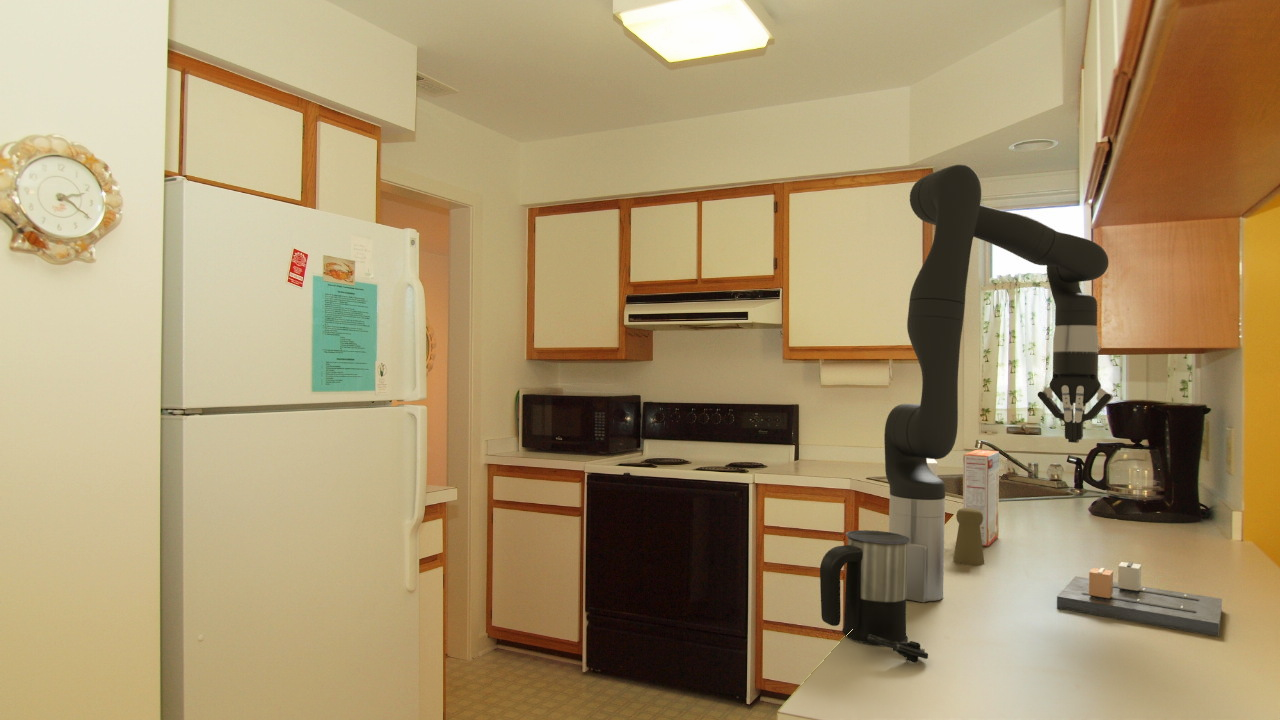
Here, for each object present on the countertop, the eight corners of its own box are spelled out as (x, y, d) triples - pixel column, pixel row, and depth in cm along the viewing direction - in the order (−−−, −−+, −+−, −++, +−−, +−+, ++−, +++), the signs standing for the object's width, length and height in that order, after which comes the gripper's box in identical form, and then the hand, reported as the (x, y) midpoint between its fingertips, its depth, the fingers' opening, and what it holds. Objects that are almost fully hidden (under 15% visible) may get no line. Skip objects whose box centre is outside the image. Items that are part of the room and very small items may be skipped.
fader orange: (1109, 598, 134) (1109, 573, 134) (1088, 594, 135) (1089, 570, 135) (1112, 593, 137) (1113, 569, 137) (1092, 590, 139) (1093, 566, 139)
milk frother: (866, 623, 125) (868, 526, 125) (964, 652, 113) (966, 545, 113) (808, 641, 116) (810, 537, 116) (907, 674, 104) (910, 558, 104)
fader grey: (1138, 590, 139) (1138, 567, 139) (1118, 587, 141) (1118, 564, 141) (1140, 586, 142) (1141, 563, 142) (1121, 583, 144) (1121, 560, 144)
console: (1218, 636, 122) (1218, 622, 122) (1056, 608, 136) (1057, 595, 136) (1221, 610, 137) (1221, 598, 137) (1075, 587, 150) (1075, 575, 150)
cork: (987, 565, 165) (988, 511, 166) (956, 563, 167) (957, 510, 167) (981, 559, 171) (982, 507, 171) (950, 557, 172) (951, 505, 173)
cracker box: (972, 534, 199) (974, 449, 199) (999, 537, 196) (1000, 450, 196) (960, 543, 187) (962, 453, 187) (988, 547, 184) (990, 455, 184)
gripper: (1032, 349, 154) (1030, 440, 154) (1112, 349, 146) (1110, 446, 146) (1041, 350, 160) (1040, 438, 160) (1118, 351, 152) (1117, 443, 152)
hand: (1073, 442), depth 153 cm, fingers closed
